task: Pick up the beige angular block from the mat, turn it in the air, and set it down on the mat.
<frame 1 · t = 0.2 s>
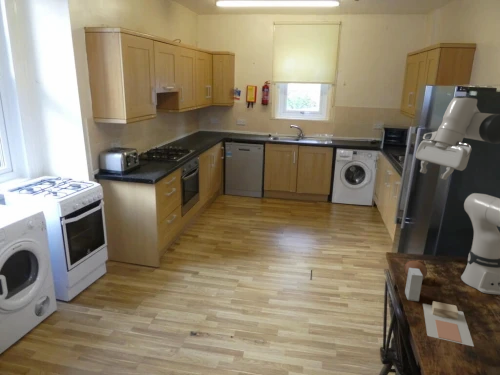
hand: (432, 176, 130), 51 cm above the table, tool tilted 20°, fingers open, 8 cm apart
skincare box: (411, 298, 145), on the table
onion: (414, 279, 158), on the table
mat: (445, 324, 128), on the table
beige angular block: (443, 313, 134), point 1 cm above the table, touching mat
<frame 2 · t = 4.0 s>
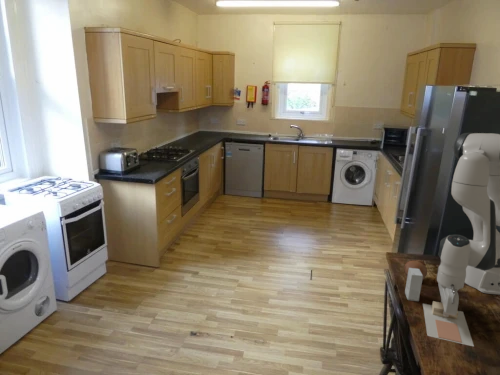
hand: (444, 311, 133), 2 cm above the table, tool pointing down, fingers closed on beige angular block, 4 cm apart
beige angular block: (443, 313, 134), point 1 cm above the table, touching gripper, mat
everything else where it was.
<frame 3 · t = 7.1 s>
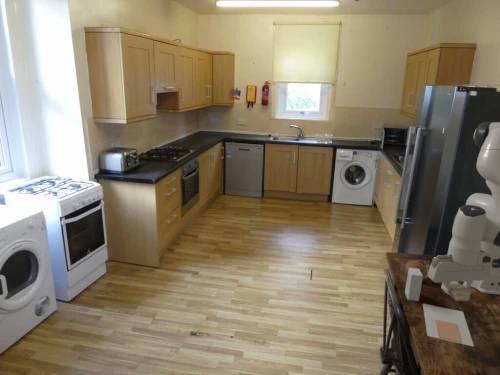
hand: (455, 291, 120), 16 cm above the table, tool pointing down, fingers closed on beige angular block, 4 cm apart
beige angular block: (454, 293, 120), point 15 cm above the table, touching gripper
everything else where it was.
when the fingers open (3 cm above the table, at t = 10.1 s): beige angular block drops 1 cm, resting on mat.
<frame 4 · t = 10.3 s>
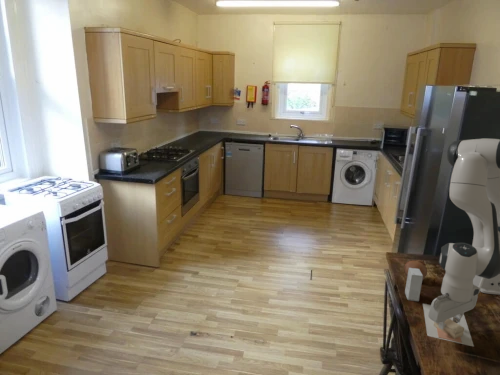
hand: (449, 324, 124), 3 cm above the table, tool pointing down, fingers open, 6 cm apart
beige angular block: (447, 330, 124), point 1 cm above the table, touching mat
everything else where it was.
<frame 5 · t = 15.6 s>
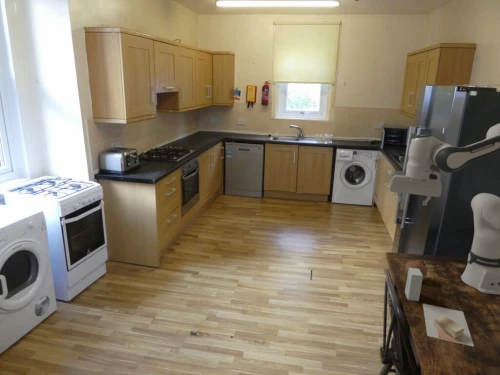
hand: (412, 203, 153), 34 cm above the table, tool pointing down, fingers open, 8 cm apart
nothing on the table moved.
at the end: beige angular block 0.3 cm from the target spot on the mat, point 0.8 cm above the mat's base; beige angular block tilted 0°; the gripper is holding nothing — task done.
